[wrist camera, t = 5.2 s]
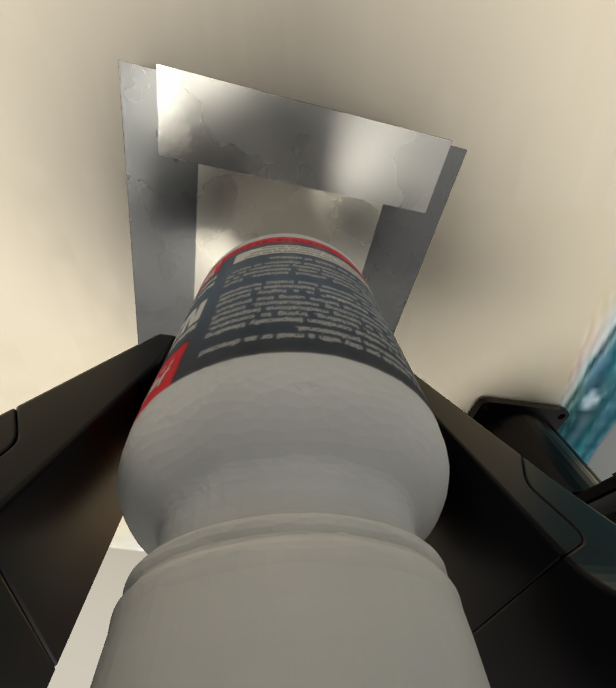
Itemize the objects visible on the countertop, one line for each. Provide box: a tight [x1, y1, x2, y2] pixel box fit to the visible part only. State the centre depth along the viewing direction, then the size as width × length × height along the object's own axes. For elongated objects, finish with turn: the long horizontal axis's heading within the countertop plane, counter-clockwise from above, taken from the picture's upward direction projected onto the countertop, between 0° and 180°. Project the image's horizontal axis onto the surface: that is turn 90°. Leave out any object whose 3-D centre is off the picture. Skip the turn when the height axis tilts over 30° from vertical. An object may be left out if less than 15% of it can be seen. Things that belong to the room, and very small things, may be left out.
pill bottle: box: [90, 233, 491, 688], centre depth 7 cm, size 5×5×9 cm
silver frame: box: [118, 60, 467, 344], centre depth 15 cm, size 12×17×4 cm
